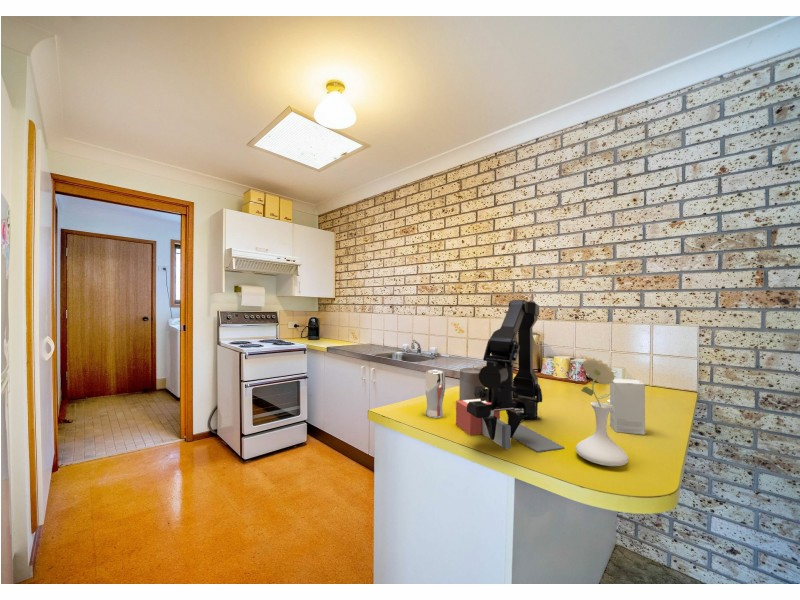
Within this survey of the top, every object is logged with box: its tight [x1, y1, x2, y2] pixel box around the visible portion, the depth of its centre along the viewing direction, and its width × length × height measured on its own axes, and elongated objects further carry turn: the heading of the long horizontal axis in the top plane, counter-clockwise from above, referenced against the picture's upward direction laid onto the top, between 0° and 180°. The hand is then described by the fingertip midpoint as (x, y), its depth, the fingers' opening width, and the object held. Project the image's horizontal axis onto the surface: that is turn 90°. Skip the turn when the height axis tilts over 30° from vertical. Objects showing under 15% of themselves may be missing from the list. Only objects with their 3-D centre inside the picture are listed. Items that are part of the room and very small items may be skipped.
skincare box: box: [609, 377, 646, 436], centre depth 105 cm, size 8×7×16 cm
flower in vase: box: [574, 357, 629, 467], centre depth 85 cm, size 13×11×25 cm
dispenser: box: [455, 399, 501, 436], centre depth 104 cm, size 10×9×8 cm
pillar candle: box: [458, 366, 487, 401], centre depth 127 cm, size 10×10×15 cm
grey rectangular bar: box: [481, 418, 511, 450], centre depth 98 cm, size 2×17×6 cm, turn 18°
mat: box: [511, 423, 566, 453], centre depth 97 cm, size 9×18×1 cm, turn 18°
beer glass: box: [424, 369, 446, 419], centre depth 116 cm, size 7×7×15 cm
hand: (501, 438), depth 92 cm, fingers open, 5 cm apart
